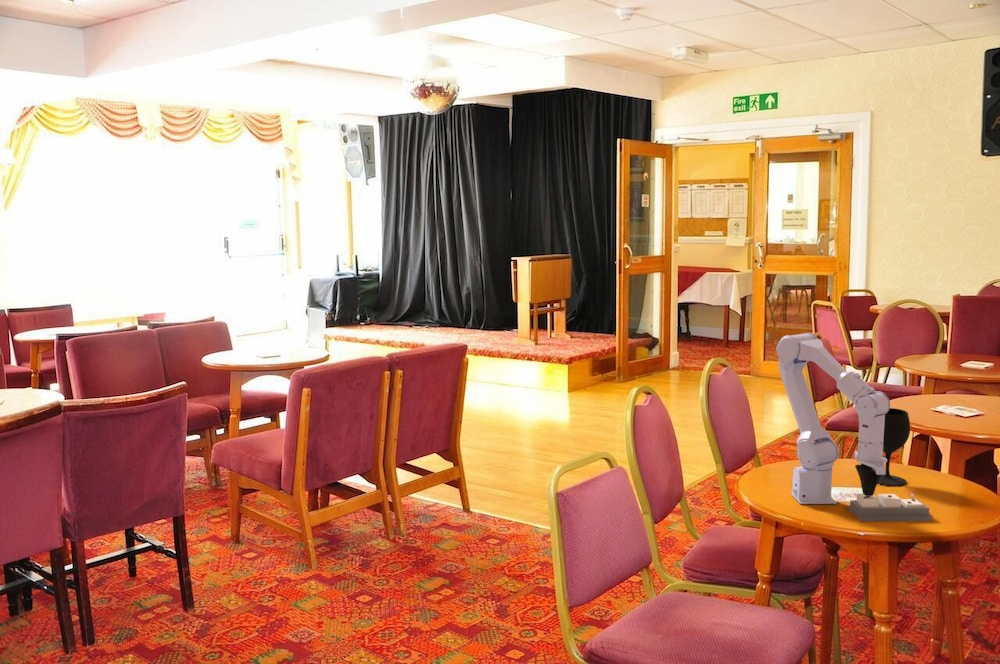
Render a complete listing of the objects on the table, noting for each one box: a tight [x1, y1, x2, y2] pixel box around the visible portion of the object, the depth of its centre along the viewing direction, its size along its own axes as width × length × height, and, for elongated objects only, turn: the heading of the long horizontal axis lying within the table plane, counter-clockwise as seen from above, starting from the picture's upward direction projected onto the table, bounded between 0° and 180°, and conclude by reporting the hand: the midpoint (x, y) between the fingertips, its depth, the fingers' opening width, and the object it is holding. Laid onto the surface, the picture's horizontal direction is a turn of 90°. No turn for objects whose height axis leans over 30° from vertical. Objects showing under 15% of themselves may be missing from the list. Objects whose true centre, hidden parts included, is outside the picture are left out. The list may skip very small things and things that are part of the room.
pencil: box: [909, 492, 933, 520], centre depth 231 cm, size 1×1×19 cm
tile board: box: [847, 499, 933, 522], centre depth 225 cm, size 17×9×3 cm, turn 89°
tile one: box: [877, 493, 902, 507], centre depth 224 cm, size 4×4×3 cm
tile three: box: [856, 493, 879, 507], centre depth 224 cm, size 4×4×3 cm
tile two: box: [900, 498, 924, 507], centre depth 224 cm, size 4×4×3 cm
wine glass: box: [877, 407, 911, 487], centre depth 251 cm, size 10×10×20 cm
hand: (868, 494), depth 224 cm, fingers closed
